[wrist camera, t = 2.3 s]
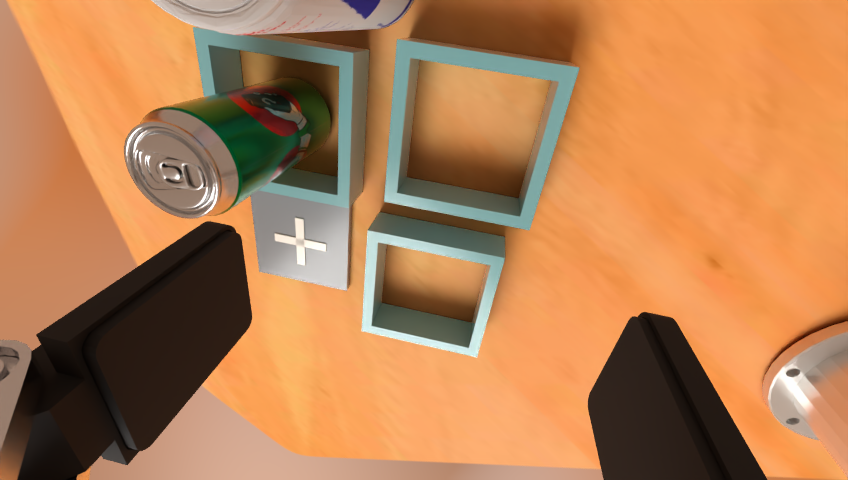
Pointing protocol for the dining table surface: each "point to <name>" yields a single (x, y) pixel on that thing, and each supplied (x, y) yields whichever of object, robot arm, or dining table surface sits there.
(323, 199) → the dish
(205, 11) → the beverage can
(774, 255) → the dining table surface
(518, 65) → the dish
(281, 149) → the soda can
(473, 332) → the dish
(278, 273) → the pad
